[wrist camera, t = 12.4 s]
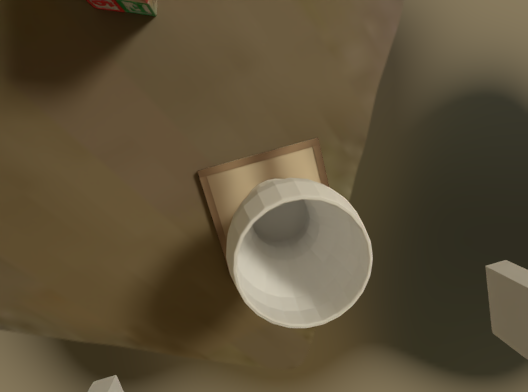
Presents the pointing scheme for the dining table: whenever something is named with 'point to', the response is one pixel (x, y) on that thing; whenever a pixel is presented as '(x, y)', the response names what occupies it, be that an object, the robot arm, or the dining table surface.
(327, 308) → the cup
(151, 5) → the stack of blocks
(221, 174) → the picture frame
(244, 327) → the dining table surface
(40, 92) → the dining table surface
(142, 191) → the dining table surface
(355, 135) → the dining table surface
